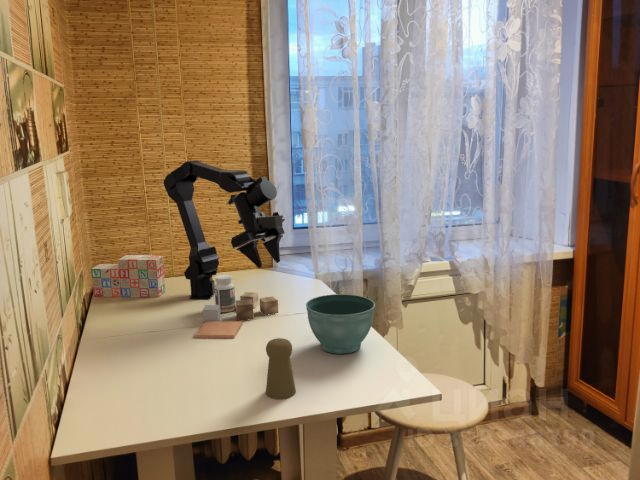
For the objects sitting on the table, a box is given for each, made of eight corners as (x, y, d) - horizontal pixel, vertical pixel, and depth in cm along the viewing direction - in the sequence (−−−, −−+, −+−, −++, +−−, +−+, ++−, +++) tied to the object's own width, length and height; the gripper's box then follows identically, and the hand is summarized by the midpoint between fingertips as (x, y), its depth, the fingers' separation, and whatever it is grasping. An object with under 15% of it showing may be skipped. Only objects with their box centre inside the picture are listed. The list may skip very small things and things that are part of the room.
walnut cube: (237, 321, 160) (236, 305, 159) (236, 315, 164) (235, 300, 164) (253, 319, 161) (253, 304, 160) (252, 314, 165) (251, 299, 164)
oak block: (265, 315, 164) (264, 302, 163) (260, 311, 168) (259, 298, 167) (278, 313, 166) (277, 300, 165) (273, 309, 169) (272, 296, 168)
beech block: (240, 309, 170) (240, 296, 169) (245, 305, 174) (245, 292, 173) (253, 310, 169) (253, 296, 168) (258, 305, 173) (257, 292, 172)
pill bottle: (239, 307, 171) (237, 274, 169) (229, 313, 166) (228, 280, 164) (221, 306, 173) (219, 273, 171) (212, 312, 168) (209, 278, 166)
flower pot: (339, 330, 152) (339, 289, 149) (388, 346, 140) (389, 302, 138) (293, 347, 141) (291, 304, 138) (342, 366, 129) (341, 320, 127)
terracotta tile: (195, 337, 148) (195, 334, 148) (206, 324, 158) (205, 321, 158) (234, 338, 148) (234, 335, 147) (242, 324, 157) (242, 321, 157)
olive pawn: (265, 386, 121) (263, 335, 118) (295, 384, 121) (293, 334, 119) (265, 400, 115) (263, 347, 112) (296, 398, 115) (294, 345, 113)
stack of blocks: (93, 297, 185) (89, 259, 183) (102, 291, 191) (98, 254, 189) (159, 297, 183) (156, 259, 181) (166, 291, 189) (163, 254, 187)
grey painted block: (203, 324, 159) (202, 309, 158) (206, 319, 162) (205, 305, 162) (218, 323, 159) (217, 309, 158) (220, 318, 162) (219, 304, 162)
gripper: (251, 203, 152) (273, 259, 151) (288, 199, 169) (308, 250, 168) (220, 220, 158) (241, 274, 156) (259, 214, 174) (278, 263, 173)
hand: (269, 264), depth 163 cm, fingers open, 9 cm apart
